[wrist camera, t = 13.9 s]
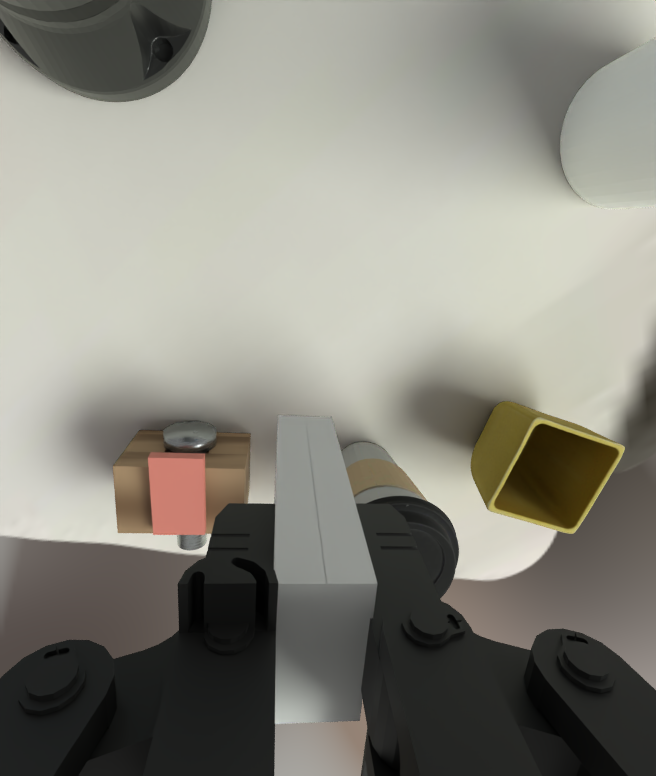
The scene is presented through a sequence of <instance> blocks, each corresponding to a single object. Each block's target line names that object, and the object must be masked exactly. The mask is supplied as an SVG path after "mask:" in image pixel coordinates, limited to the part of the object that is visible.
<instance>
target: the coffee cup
mask: <svg viewBox="0 0 656 776" xmlns="http://www.w3.org/2000/svg"><path fill="white" fill-rule="evenodd" d="M342 456H343V460H344V463H345V467H346V471H347V474H348V478H349V481H350V485H351V489H352V492H353V496H354V500H355V503H363V504H390V505H392V506H393V507H394V508H395V509H396V510H397V511H398V512H399V513H400V514H401V515H403V516H404V517H405V519H406V522H407V524H408V526H409V529H410V531H411V533H412V534H411V535H412V536H413V538H414V540H415V542H416V545H417V550H419V551H420V554H421V556H422V558H423V561H424V563H425V565H426V567H427V570H428V572H429V574H430V577H431V579H432V581H433V584H434V586H435V588H436V590H437V593H438V595H439V597H440V598H441V597H442V596H443V595H444V594H445V593H446V591H447V590H448V588H449V587H450V585H451V582H452V580H453V577H454V574H455V569H456V566H457V562H458V556H459V547H458V540H457V537H456V533H455V530H454V527H453V525H452V523H451V521H450V520H449V518H448V517H447V516H446V515H445V513H444V512H443V511H441V510H440V509H439V508H438V507H436V506H435V505H433V504H432V503H430V502H428V501H427V500H426V499H425V497H424V496H423V495H422V494H421V492H420V491H419V490H418V488H417V487H416V486H415V485H414V483H413V482H412V481H411V479H410V478H409V477H408V476H407V474H406V473H405V472H404V471H403V470H402V469H401V468H400V467H398V465H397V464H396V463H395V462H394V460H393V459H392V458H391V456H390V455H389V454H388V453H387V452H386V451H385V450H384V449H383V448H381V447H380V446H378V445H376V444H373V443H369V442H357V443H353V444H351V445H349V446H347V447H346V448H345V449H343V450H342Z"/></svg>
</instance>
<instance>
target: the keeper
mask: <svg viewBox="0 0 656 776" xmlns="http://www.w3.org/2000/svg"><path fill="white" fill-rule="evenodd" d="M148 467H149V481H150V495H151V509H152V523H153V535H205V532H206V482H205V454H202V453H162V452H151V453H150V455H149V456H148Z"/></svg>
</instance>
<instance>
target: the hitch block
mask: <svg viewBox="0 0 656 776" xmlns="http://www.w3.org/2000/svg"><path fill="white" fill-rule="evenodd" d="M250 437H251V433H220V432H217V443H216V446H215V447H214V448H213V449H211V450H210V451H207V452H206V453H202V454H205V482H206V532H205V534H212V529H213V525H214V521H215V517H216V516H217V515H218V514H219V513H220V512H221V511H222V510H223V509H224V508H225V507H226V506H227V504H228V503H244V504H247V503H248V495H249V476H250ZM151 452H162V453H171V452H169V451H167V450H166V449H165V448H164V442H163V431H155V430H139V431H138V433H137V434H136V435H135V437H134V438H133V440H132V441H131V442H130V444H129V445H128V446H127V448H126V449H125V450H124V452H123V453H122V454H121V456H120V457H119V458H118V460H117V461H116V463H115V464H114V465H113V475H114V488H115V502H116V515H117V529H118V533H153V523H152V509H151V495H150V481H149V467H148V456H149V455H150V453H151Z"/></svg>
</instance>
